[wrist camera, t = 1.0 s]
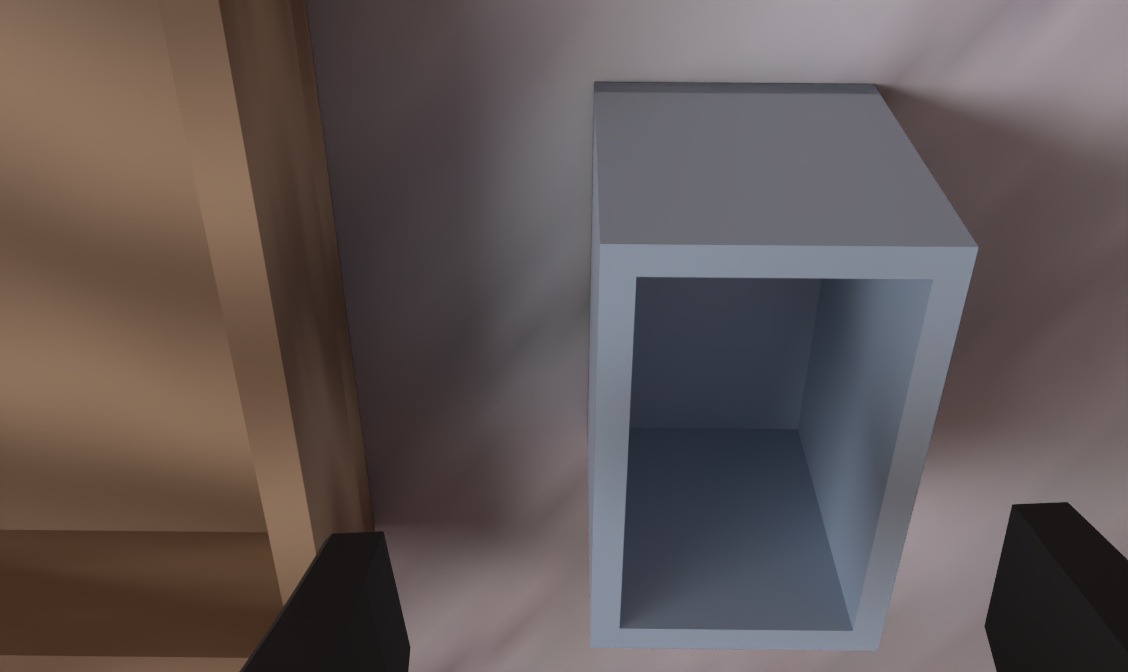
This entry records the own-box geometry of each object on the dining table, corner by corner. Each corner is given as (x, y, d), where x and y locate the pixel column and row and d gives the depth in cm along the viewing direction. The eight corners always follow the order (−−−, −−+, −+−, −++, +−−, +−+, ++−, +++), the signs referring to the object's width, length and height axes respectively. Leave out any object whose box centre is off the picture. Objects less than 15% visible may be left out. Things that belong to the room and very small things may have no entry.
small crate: (813, 432, 23) (877, 650, 18) (587, 430, 24) (589, 647, 19) (873, 84, 19) (978, 246, 14) (594, 82, 19) (600, 243, 14)
